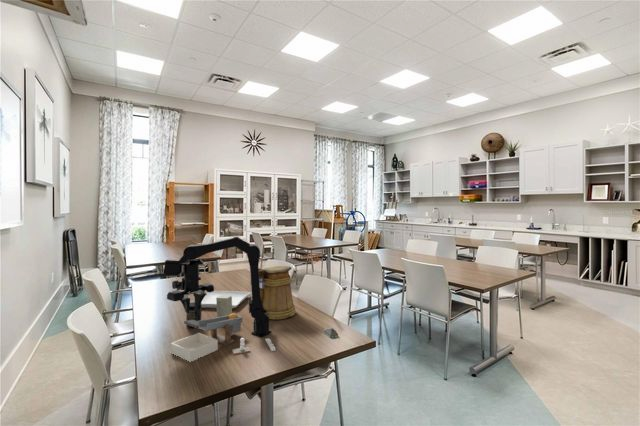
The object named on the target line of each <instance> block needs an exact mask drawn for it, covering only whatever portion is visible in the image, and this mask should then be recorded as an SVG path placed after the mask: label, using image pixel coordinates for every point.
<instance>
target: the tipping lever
mask: <svg viewBox="0 0 640 426" xmlns="http://www.w3.org/2000/svg"><path fill="white" fill-rule="evenodd" d="M229 316H230V315H227V316H221V317H217V316H216V317H212V318H206V319H202V320H200V321H195V320H188V321H186V320H184V321H183V324H184V325H186V324H187V325H189V326H192V327H195V328H194V329H200V330H202V331H205V332H207V331H208V332H209V331H211V330H214V329H222V328H225V325H227V324H231V333H235V332H240V331H241V325H242V323H243V318H244V317H243V316H239V315H237V318H234V319H229Z"/></svg>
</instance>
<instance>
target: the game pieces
mask: <svg viewBox="0 0 640 426" xmlns="http://www.w3.org/2000/svg"><path fill="white" fill-rule="evenodd" d="M324 332H325V333H324ZM323 333H324V334H325V335H326V336H327V337H329V338H330V339H334V338H333V337H335V338H338V337H339V333H338V332H337V331H336V330H335V329H334V328H332V327H331V328H324V329H323ZM245 340H246V339H245V338H244V337H241V338H240V339H239V342H240V343H239V345H240V346H239V347H238V348H232V349H231V351H232V354H233V355H232V356H234V355H235V356H236V355H241V354H246V353H247V354H248V353H251V348H250V346H245V345H246V344H245V343H246V341H245ZM264 341H265V342H266V343H267V345H268V347H269V349H270V351H271V352H273V351H275V352H276V347H275V346H274V343H272V342H273V341H272V339H271V338H265V340H264Z"/></svg>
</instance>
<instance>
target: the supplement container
mask: <svg viewBox="0 0 640 426" xmlns="http://www.w3.org/2000/svg"><path fill="white" fill-rule="evenodd" d="M202 309H203V308H202V303H201V304H200V306H199V308H198V310H197V311H195V302H193V301H190V306H189V313H188V314H187V313H186V312H185V313H186V315H185V317H186V319H185V321H188V320H195V321H200V320H203V319H202V318H203V317H202V312H203V311H202ZM185 326H186V328H188V329H196V328H195V327H192V326H189V325H187V324H185Z"/></svg>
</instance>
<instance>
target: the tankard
mask: <svg viewBox="0 0 640 426" xmlns="http://www.w3.org/2000/svg"><path fill="white" fill-rule="evenodd" d="M258 270H259V279H261V278H264V279H263V280H262V283H263V284H264V288H260V297H261V301H262V305H263V308H264V309H265V310H266V311H267V313H268V316H269V321H270V320H271V321H272V320H274V321H276V320H284V319H288V318H291V317H293V316H295V314H296V313H297V312H296V306H295V304H294V301H293V294H292V293H293V292H292V287H291V286H292V285H291V283H292V278H291V277H292V276H291V275H290V274H289V273H290V272H289V271H290V270H292V267H291V266H288V265H279V266H271V267H265V268H264V267H263V268H260V267H258ZM250 282H251V278H250Z"/></svg>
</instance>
